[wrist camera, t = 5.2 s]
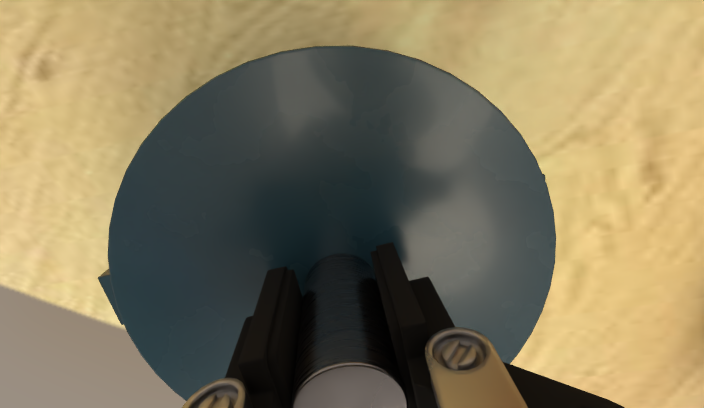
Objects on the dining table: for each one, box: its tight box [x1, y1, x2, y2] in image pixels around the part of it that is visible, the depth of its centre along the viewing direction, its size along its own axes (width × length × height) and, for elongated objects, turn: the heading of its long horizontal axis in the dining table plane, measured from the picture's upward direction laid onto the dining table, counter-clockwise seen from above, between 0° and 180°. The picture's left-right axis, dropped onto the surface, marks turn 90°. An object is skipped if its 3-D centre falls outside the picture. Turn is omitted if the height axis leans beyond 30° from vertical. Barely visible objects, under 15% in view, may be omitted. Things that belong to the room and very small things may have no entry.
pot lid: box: [108, 46, 556, 408], centre depth 10 cm, size 15×15×6 cm
